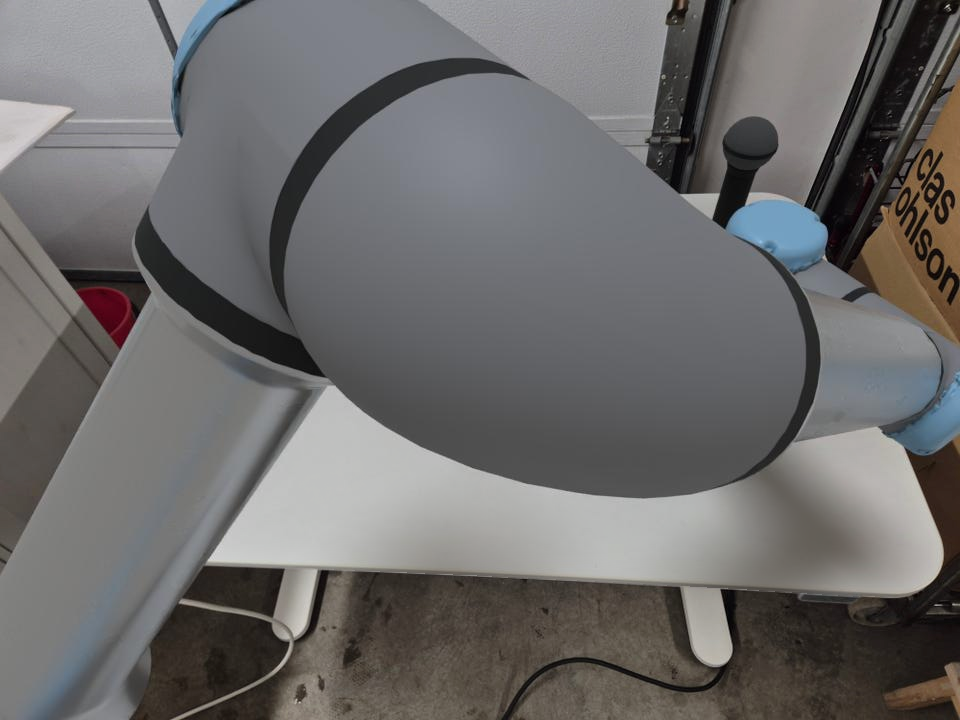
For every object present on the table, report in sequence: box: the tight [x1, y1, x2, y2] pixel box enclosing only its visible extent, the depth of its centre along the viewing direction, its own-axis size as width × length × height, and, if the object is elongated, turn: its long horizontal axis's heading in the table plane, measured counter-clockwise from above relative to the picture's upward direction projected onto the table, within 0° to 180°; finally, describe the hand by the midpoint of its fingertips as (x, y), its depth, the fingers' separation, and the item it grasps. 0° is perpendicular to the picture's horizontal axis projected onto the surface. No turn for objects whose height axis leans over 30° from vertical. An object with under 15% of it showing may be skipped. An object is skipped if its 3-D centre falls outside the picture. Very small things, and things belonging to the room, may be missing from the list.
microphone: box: [711, 115, 779, 230], centre depth 82 cm, size 7×7×20 cm
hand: (478, 220), depth 75 cm, fingers closed on box, 4 cm apart
